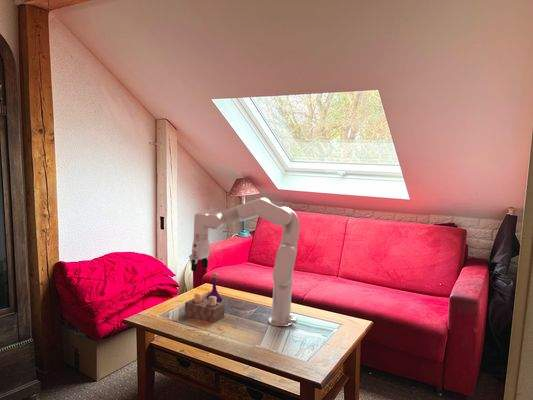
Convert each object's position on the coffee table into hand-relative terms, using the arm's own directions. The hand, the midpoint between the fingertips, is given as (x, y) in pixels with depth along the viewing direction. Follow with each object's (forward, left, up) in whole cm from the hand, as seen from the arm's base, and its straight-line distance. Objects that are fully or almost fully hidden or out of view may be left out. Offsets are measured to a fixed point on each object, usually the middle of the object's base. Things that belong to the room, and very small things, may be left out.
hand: (199, 269), depth 211 cm
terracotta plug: (0, 0, -20) cm, 20 cm away
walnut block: (-5, 0, -24) cm, 25 cm away
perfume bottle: (+1, -18, -25) cm, 30 cm away
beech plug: (-9, 0, -20) cm, 22 cm away
